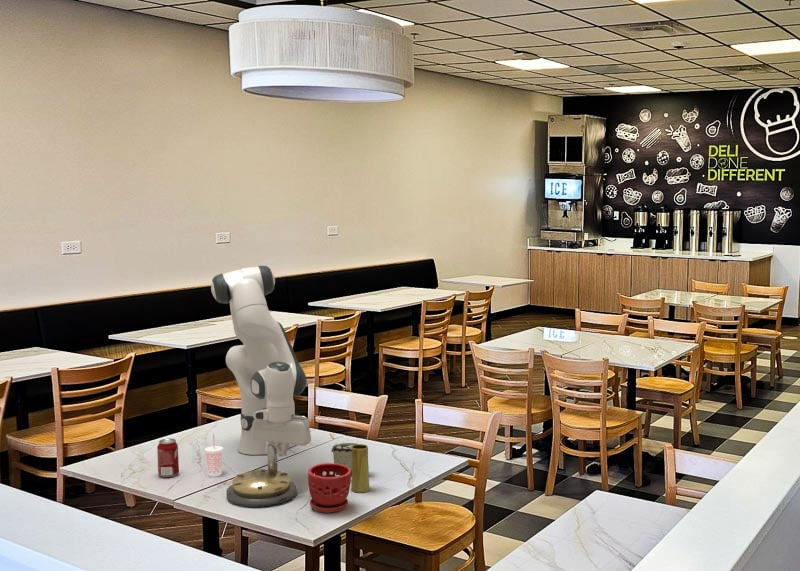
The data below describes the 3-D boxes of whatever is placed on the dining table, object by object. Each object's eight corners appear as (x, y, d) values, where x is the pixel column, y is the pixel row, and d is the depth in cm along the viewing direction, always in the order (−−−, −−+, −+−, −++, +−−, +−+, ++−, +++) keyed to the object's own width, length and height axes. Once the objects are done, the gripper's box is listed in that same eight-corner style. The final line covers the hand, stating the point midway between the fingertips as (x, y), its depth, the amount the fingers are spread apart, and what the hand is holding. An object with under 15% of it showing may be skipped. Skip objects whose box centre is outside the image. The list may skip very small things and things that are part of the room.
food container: (372, 472, 284) (371, 444, 283) (365, 478, 278) (365, 449, 277) (338, 469, 288) (338, 441, 287) (331, 474, 282) (331, 446, 281)
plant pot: (306, 516, 246) (305, 476, 244) (310, 499, 259) (310, 462, 257) (350, 515, 246) (349, 476, 244) (352, 499, 259) (352, 462, 257)
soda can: (173, 479, 279) (172, 444, 277) (154, 477, 280) (153, 443, 279) (182, 472, 285) (181, 438, 284) (164, 471, 286) (163, 437, 285)
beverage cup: (202, 476, 281) (200, 435, 280) (212, 470, 287) (210, 430, 286) (217, 478, 279) (216, 437, 278) (227, 472, 285) (226, 432, 284)
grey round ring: (267, 478, 279) (267, 471, 278) (311, 493, 264) (311, 486, 264) (212, 496, 262) (212, 489, 262) (255, 513, 248) (255, 506, 247)
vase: (362, 494, 263) (362, 450, 262) (347, 490, 266) (346, 447, 265) (373, 488, 268) (373, 445, 267) (357, 485, 272) (357, 442, 270)
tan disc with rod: (270, 501, 251) (269, 463, 250) (221, 493, 258) (220, 455, 257) (301, 482, 267) (300, 446, 266) (254, 475, 275) (253, 440, 273)
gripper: (314, 414, 264) (315, 456, 265) (259, 408, 272) (261, 449, 274) (303, 418, 258) (305, 462, 260) (248, 413, 267) (250, 455, 268)
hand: (282, 455), depth 267 cm, fingers closed
